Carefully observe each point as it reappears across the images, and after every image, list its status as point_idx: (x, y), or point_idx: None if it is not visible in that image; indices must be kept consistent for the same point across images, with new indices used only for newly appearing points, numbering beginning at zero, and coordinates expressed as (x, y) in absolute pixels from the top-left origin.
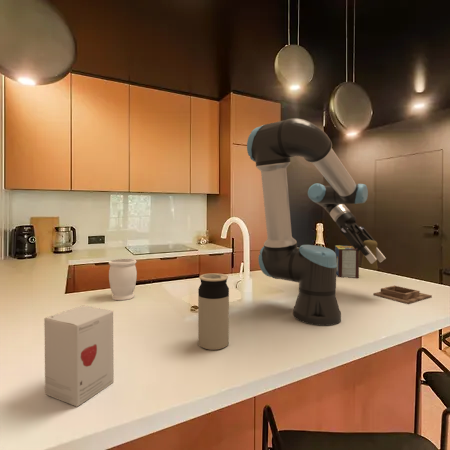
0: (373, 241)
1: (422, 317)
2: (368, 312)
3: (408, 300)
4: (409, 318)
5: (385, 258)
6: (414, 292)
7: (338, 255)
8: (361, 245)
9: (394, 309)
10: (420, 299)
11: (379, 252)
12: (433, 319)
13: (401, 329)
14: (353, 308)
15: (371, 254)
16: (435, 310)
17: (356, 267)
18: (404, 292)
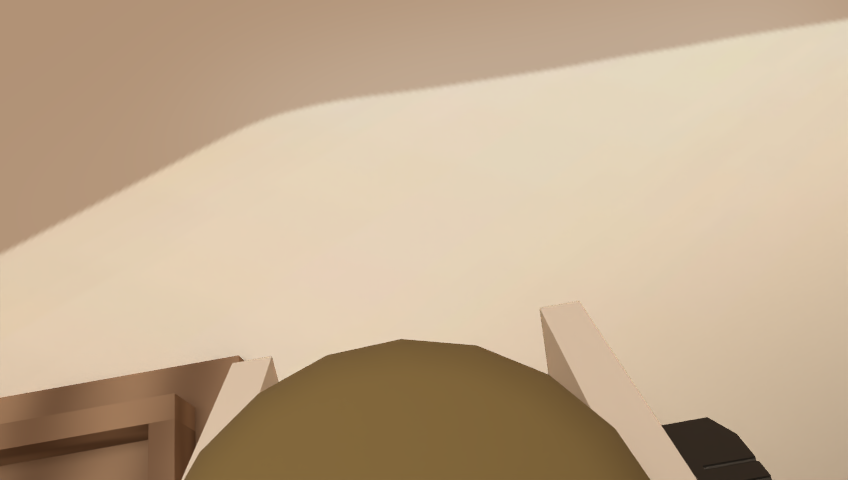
0: (444, 373)
1: (446, 131)
2: (753, 318)
3: (187, 388)
4: (548, 143)
5: (247, 364)
6: (15, 421)
7: None
8: None
9: (480, 303)
10: (32, 395)
11: None
12: (415, 91)
13: (757, 43)
14: (821, 444)
15: (619, 370)
16: (215, 194)
17: None
18: None
